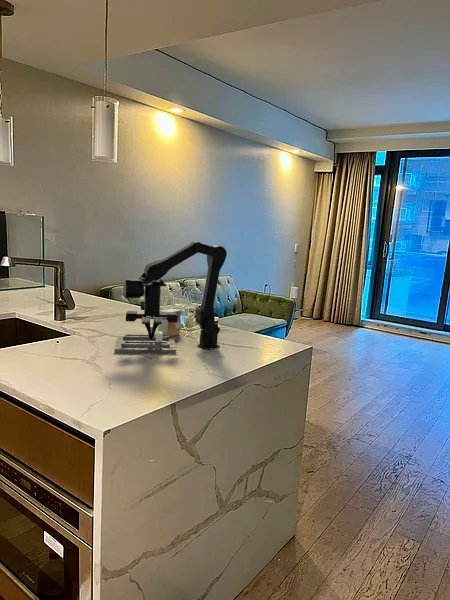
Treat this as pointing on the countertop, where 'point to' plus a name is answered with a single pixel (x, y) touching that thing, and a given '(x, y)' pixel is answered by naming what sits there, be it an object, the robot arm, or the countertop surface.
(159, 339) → the block
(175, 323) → the small box
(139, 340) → the panel
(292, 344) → the countertop surface
